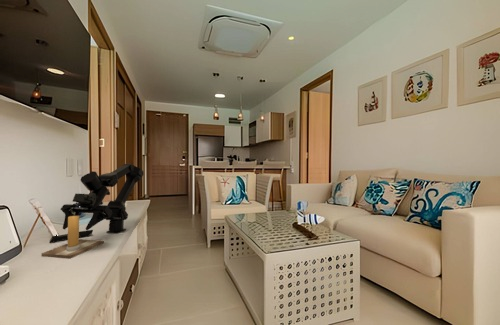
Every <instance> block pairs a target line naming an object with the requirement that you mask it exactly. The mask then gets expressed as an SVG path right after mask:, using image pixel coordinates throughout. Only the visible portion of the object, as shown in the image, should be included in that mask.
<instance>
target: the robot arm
mask: <svg viewBox="0 0 500 325" xmlns="http://www.w3.org/2000/svg"><path fill="white" fill-rule="evenodd" d="M144 175H145V173H144V170H142V169H141V167H138V166H135V164H132V163H123V164H122V165H121V166H119V167H117V169H114V170H113V171H111V172H106V173H102V174H100V175H98V172H97V171H92V170H91V171H90V172H89V173H86V174H84V175H82V176H81V177H80V182H81V183H82V184H83V186H84V187H85V188H86V189H87V190H88V191H90V192H89V193H75V194H74V196H73V199H72V202H74V203H77V205H78V206H79V207H77V206H76V205H75V204H70V203H69V204H67V203H66V204H63V205H62V206H61V208H60V211H61V212H63V214H64V220H63V224H62V229H63V230H66V229H68V217H69V216H76V215H78V216H80V215H79V214H80V213H83V214H92V217H91V219H90V220H89V221H88V223H87V225H86V227H85V231H87V230H91V228H93V227H94V226H96V225H97V224H99V223H101V222H102V221H104V220H106V221H109V224H108V230H107V231H106V233H110V234H119V233H121V232H124V231H126V230H127V228H124V222H125V221H126V220H127V219H128V217H129V213H127V211H126V209H127V208H126V202H127V200H128V198H129V196H130V194H131V193H132V190H133V188H134V187H135V185H136V183H138V182H139V181H141V179H142V178H143V176H144ZM124 176H125V177H126V180H125V182H124V184H123V185H122V187H121V189H120V190H119V193H118V194H117V196H116V198H115V200H109V201H108V203H107V205H106V204H105V205H103V204H104V202H103V201H104V199H105V197H106V196H110V195H111V191H110V189H109V188H114V187H115V186H116V185H117V184H118V183H119V180H120V179H122V178H123V177H124Z"/></svg>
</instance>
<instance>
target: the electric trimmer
mask: <svg viewBox="0 0 500 325" xmlns="http://www.w3.org/2000/svg"><path fill="white" fill-rule="evenodd" d="M93 231H94V229H89V230H83V231H80V230H79V239H81V238H83V237H87V236H91V235H92V234H93ZM55 235H56V236H55ZM55 235H52V236H51V238H50V240H49V244H54V243H55V242H60V241H61V242H62V241H65V240H68V233H65V234H55ZM57 235H58V236H57Z"/></svg>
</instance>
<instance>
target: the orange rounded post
mask: <svg viewBox="0 0 500 325" xmlns="http://www.w3.org/2000/svg"><path fill="white" fill-rule="evenodd" d="M79 232H80V215H76V216H69V217H68V227H67V234H68V239H67V244H68V246H67V247H66V251H68V252H70V251H76V250H78V249H79V248H80V244H79V239H80V238H79Z"/></svg>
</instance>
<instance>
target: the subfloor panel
mask: <svg viewBox="0 0 500 325" xmlns="http://www.w3.org/2000/svg"><path fill="white" fill-rule="evenodd" d="M79 244H80V248H79V249H78V250H76V251H70V252H68V251H66V247H67V246H68V243H66V244H63V245H60V246H57V247H55V248H53V249H49V250H47V251H44V252H42V253H41V254H40V256H41V257H46V258H47V257H48V258H49V257H50V258H59V259H72V258H75V257H77V256H79V255H81V254H83V253H85V252H87V251H90V250H92V249H94V248H96V247H99V246H102V245H103V244H105V240H101V239H100V240H99V239H83V238H79Z"/></svg>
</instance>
